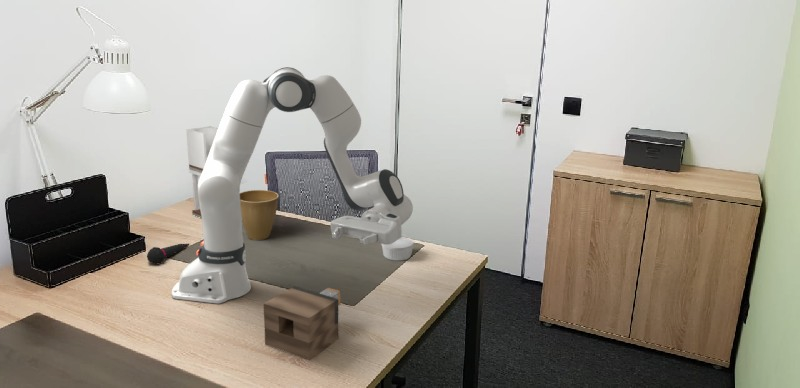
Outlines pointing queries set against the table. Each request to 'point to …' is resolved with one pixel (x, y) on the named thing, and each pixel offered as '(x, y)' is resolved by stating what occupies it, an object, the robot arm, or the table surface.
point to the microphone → (163, 252)
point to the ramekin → (398, 249)
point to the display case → (199, 156)
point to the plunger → (332, 294)
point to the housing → (301, 322)
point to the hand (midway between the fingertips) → (347, 239)
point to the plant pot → (258, 212)
